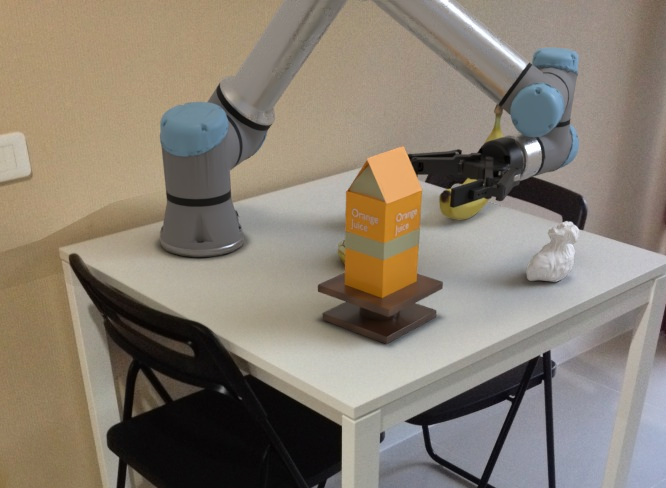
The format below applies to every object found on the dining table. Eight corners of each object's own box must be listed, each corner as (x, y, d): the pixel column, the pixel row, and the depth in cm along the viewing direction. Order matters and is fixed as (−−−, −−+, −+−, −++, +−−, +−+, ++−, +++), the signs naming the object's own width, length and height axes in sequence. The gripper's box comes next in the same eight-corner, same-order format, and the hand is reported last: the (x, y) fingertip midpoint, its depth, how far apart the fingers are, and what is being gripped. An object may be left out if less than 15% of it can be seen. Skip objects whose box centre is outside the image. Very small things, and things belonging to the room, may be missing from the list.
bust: (531, 300, 168) (574, 261, 159) (505, 265, 169) (546, 224, 160) (567, 280, 176) (610, 241, 167) (542, 246, 176) (583, 206, 167)
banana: (454, 232, 188) (463, 124, 176) (428, 226, 191) (435, 119, 179) (507, 201, 203) (518, 100, 191) (482, 196, 206) (492, 95, 194)
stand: (317, 320, 155) (317, 284, 152) (372, 293, 164) (373, 259, 161) (387, 346, 148) (388, 309, 145) (440, 316, 157) (443, 281, 153)
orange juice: (343, 284, 152) (345, 153, 140) (379, 268, 157) (383, 140, 146) (382, 298, 148) (388, 164, 136) (418, 281, 153) (425, 151, 142)
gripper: (565, 202, 156) (478, 233, 144) (449, 165, 170) (362, 191, 159) (572, 154, 152) (483, 182, 140) (453, 121, 166) (363, 143, 154)
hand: (418, 187), depth 149 cm, fingers open, 13 cm apart
